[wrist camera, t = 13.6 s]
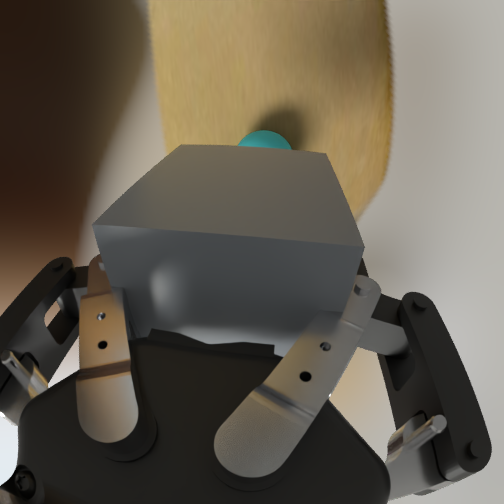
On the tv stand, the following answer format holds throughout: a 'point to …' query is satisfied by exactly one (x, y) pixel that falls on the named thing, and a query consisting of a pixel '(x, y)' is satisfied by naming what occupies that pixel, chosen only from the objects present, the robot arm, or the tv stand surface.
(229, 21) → the tv stand surface
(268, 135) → the ball
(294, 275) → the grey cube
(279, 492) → the robot arm
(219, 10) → the tv stand surface
